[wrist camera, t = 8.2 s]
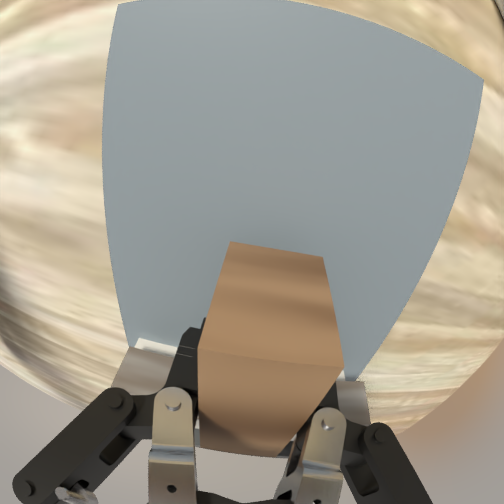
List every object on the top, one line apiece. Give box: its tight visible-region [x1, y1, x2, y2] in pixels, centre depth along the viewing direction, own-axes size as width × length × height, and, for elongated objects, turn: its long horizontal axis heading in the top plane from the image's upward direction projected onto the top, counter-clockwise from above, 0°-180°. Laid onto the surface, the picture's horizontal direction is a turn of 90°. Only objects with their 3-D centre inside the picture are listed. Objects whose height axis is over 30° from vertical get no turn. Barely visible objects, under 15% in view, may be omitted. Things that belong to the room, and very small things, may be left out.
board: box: [102, 0, 484, 381], centre depth 14 cm, size 24×16×2 cm, turn 171°
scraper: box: [111, 241, 371, 457], centre depth 11 cm, size 9×14×5 cm, turn 82°
